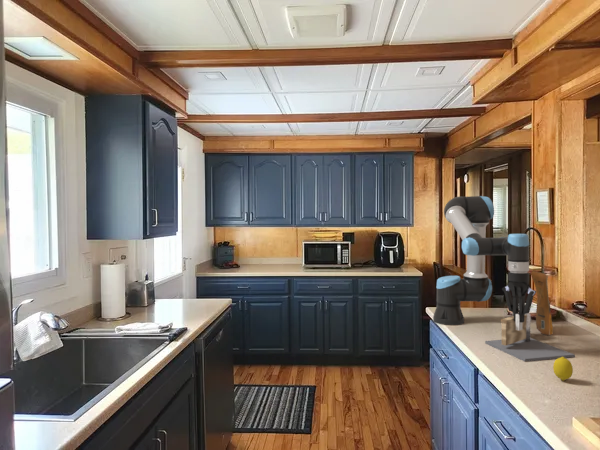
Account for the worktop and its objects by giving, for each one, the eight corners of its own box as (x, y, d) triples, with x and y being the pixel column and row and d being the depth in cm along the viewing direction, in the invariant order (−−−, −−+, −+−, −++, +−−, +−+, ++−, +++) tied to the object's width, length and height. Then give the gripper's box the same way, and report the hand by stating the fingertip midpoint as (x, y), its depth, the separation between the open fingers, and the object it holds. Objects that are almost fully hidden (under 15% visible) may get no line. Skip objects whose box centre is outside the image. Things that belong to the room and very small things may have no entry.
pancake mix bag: (539, 335, 196) (539, 274, 195) (530, 325, 214) (530, 269, 213) (556, 337, 194) (556, 274, 193) (545, 326, 212) (545, 269, 211)
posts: (502, 345, 182) (502, 315, 182) (526, 341, 187) (526, 311, 187) (508, 347, 179) (508, 316, 179) (532, 343, 184) (532, 313, 184)
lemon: (549, 377, 146) (549, 354, 146) (565, 377, 146) (565, 353, 146) (560, 384, 140) (560, 359, 140) (576, 383, 141) (576, 359, 141)
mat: (485, 343, 186) (485, 340, 186) (529, 339, 190) (529, 337, 190) (524, 361, 162) (524, 358, 162) (574, 357, 166) (574, 354, 166)
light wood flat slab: (521, 337, 185) (521, 313, 185) (526, 338, 183) (526, 314, 183) (500, 344, 176) (500, 319, 175) (506, 345, 174) (506, 320, 173)
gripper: (498, 271, 178) (498, 328, 178) (530, 274, 167) (530, 334, 168) (507, 269, 182) (508, 325, 183) (539, 272, 172) (540, 331, 172)
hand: (519, 329), depth 175 cm, fingers closed
